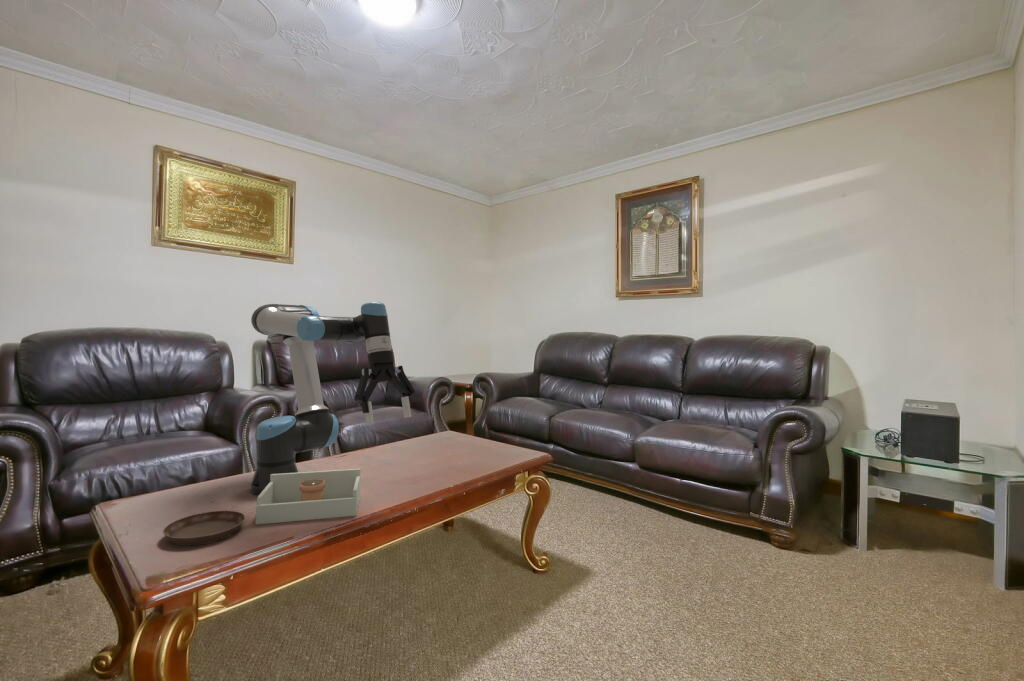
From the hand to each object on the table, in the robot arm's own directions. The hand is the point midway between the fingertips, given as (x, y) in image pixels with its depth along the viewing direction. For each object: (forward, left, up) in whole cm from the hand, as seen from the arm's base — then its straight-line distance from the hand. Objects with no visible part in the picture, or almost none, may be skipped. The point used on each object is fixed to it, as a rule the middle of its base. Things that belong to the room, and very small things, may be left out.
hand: (389, 420), depth 138 cm
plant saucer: (+8, -46, -26) cm, 54 cm away
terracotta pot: (-3, -22, -26) cm, 34 cm away
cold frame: (-3, -22, -26) cm, 34 cm away
